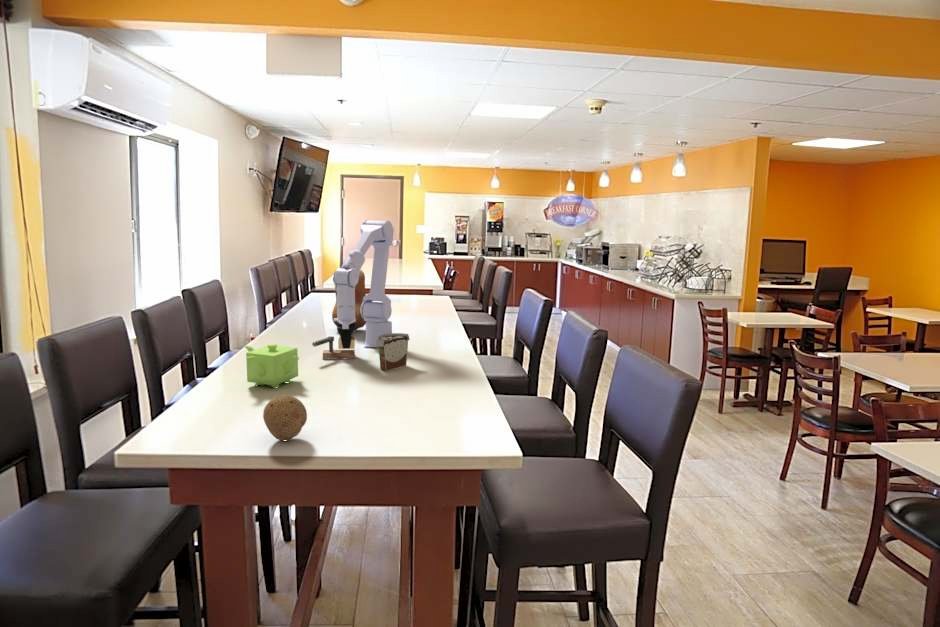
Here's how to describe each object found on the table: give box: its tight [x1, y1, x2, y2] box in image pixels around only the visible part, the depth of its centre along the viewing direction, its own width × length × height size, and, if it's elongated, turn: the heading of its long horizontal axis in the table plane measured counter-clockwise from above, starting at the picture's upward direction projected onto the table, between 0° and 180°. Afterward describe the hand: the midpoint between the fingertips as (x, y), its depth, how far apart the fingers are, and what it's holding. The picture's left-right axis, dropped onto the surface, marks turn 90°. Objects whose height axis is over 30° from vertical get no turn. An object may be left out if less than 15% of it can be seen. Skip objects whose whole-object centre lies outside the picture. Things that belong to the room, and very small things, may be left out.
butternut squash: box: [331, 268, 367, 332], centre depth 247 cm, size 14×13×25 cm
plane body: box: [321, 341, 356, 360], centre depth 208 cm, size 10×5×5 cm, turn 98°
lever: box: [312, 335, 335, 348], centre depth 203 cm, size 10×2×2 cm, turn 157°
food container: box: [376, 332, 410, 373], centre depth 197 cm, size 12×6×10 cm, turn 145°
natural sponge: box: [262, 394, 308, 441], centre depth 136 cm, size 9×9×10 cm
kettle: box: [243, 343, 300, 389], centre depth 177 cm, size 15×14×11 cm
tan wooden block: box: [337, 335, 356, 350], centre depth 208 cm, size 5×5×3 cm
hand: (346, 346), depth 208 cm, fingers closed on tan wooden block, 5 cm apart
